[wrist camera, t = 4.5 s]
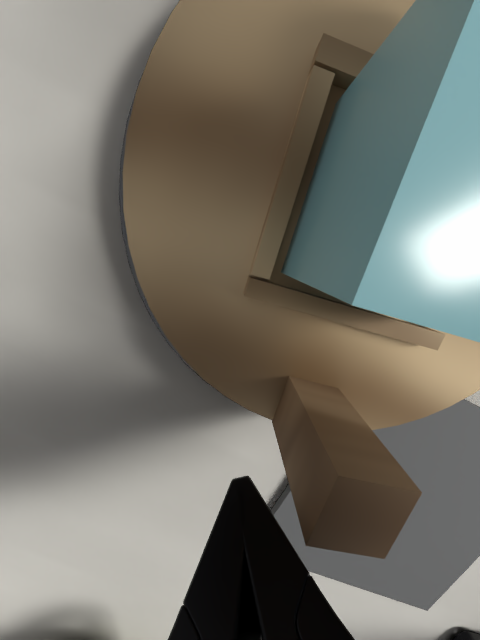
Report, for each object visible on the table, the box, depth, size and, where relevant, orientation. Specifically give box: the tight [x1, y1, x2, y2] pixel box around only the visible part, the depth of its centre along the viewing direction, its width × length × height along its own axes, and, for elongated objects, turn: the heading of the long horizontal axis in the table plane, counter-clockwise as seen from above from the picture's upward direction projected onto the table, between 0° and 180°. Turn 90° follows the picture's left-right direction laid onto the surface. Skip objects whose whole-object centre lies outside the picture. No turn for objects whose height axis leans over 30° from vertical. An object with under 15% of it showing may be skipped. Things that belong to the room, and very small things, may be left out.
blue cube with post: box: [281, 0, 480, 342], centre depth 6 cm, size 8×5×5 cm, turn 164°
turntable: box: [123, 0, 480, 559], centre depth 7 cm, size 16×16×5 cm
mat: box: [271, 399, 480, 610], centre depth 14 cm, size 12×12×1 cm
